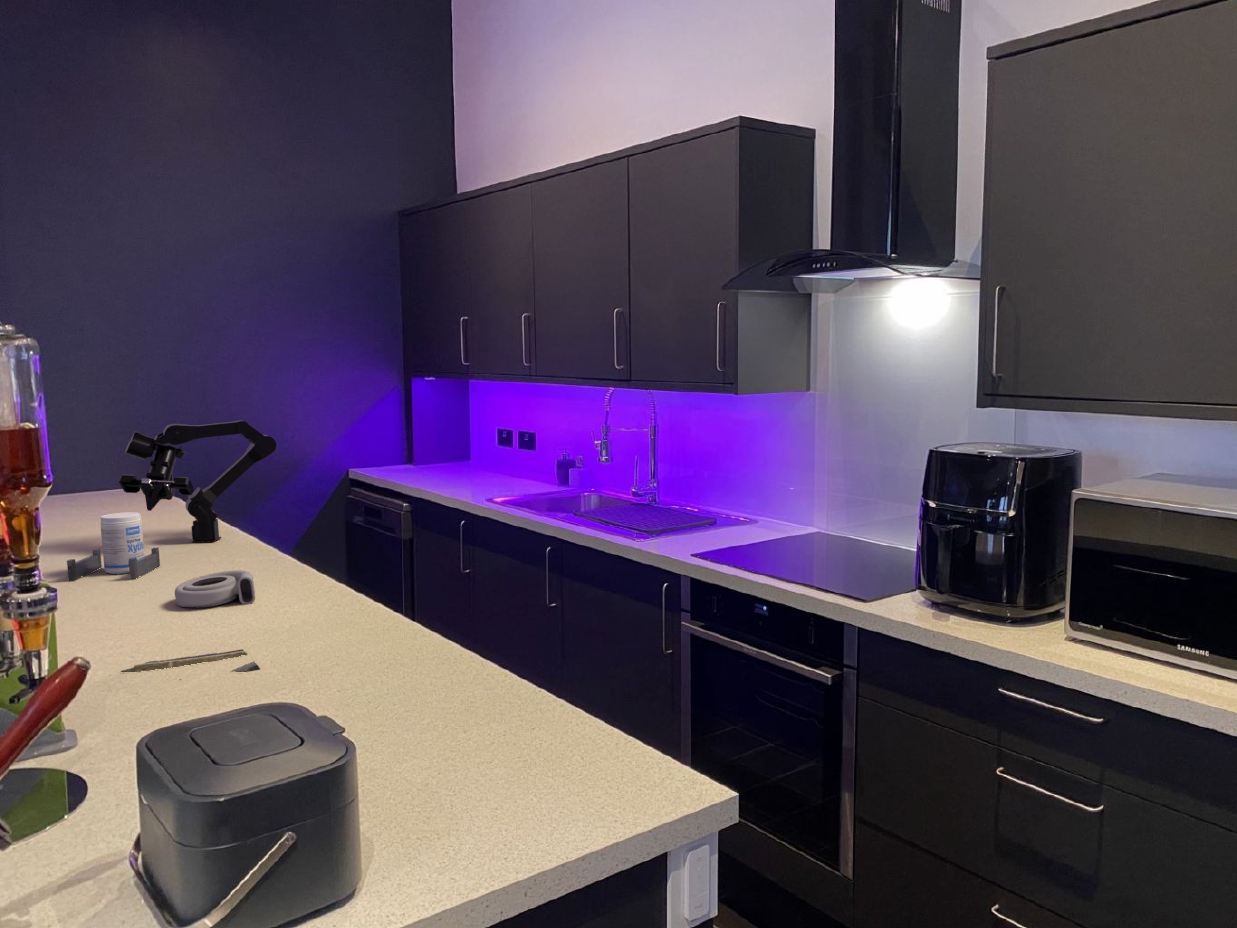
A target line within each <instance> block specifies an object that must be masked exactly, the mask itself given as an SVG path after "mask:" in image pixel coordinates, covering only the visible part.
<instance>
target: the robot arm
mask: <svg viewBox="0 0 1237 928" xmlns="http://www.w3.org/2000/svg"><path fill="white" fill-rule="evenodd" d="M229 435H232V436H233V435H241V436H242V437H243V438H245V439H246V440H247V441H249V442H251V443H250V444H249V446H248V447H247V449H246V450H245V452H244V454H243V455H241V456H240V457H239V458H238V459H237V460H236V461H235V462H234V463H232V465H230V466H229V467H228V468H227V469H226V470H225V471H224V472H223V473H222V474H220V475H219V477H217V478H216V479H215V480H214V481H213V482H211V484H209V485H208V486H207V487H205V488H203V489H201V487H199V486H198V487H197V488H195V490H194V486H193V485H194V484H193V483H192V481H191V479H190V478H189V476H175V477H174V471H173V470H174V467H175V463H176V460H177V459H179V460H182V459H183V458H184V457H185V455H186V451H185V450H184V449H183V448H182V446H179V445H181V444H185V443H188V442H191V441H194V440H198V439H204V438H211V437H212V438H213V437H221V436H229ZM165 444H166V445H165ZM169 444H171V445H169ZM172 445H173V446H172ZM175 445H176V446H178V447H176V446H175ZM276 450H277V441H276V440H275V438H274V437H273V436H270V435H267V434H262V433H261V432H259V431H258V430H257V429H256V428H254V427H253V426H252V425H250V424H249V422H247V421H245V420H244V419H241V420H240V419H239V420H235V421H227V422H218V423H217V422H215V423H209V424H198V425H196V424H186V423H185V424H183V423H182V424H181V423H170V424H168V425H166V426H165V427H164V429H163V431H162V432H161V433H159V434H157V435H155V436H153V437H151V436H148V435H144V434H142V433H140V432H138V431H134V432H133V434H132V436H131V439H130V440H129V441H128V444H127V446H126V449H125V451H124V454H125V455H129V456H131V457H135V458H138V459H141V460H143V461H144V460H147V459H151V458H152V457H153V459H152V460H150V462H149V466H150V469H149V472H146V474H145V477H146V478H141V479H139V477H138V476H137V474H125V473H124V474H121V475H120V476H119V478H118V479H119V480H118V483H119V485H120V487H121V489H122V490H123V492H125V493H126V494H128V493H129V494H137V493H140V491H141V492H142V493H143V495H144V497H145V505H146V509H147V512H150V511H152V510H153V509H154V508H155V507H156V506H157V504H158V503H160V501H161V500H167V501H170V500H172V499H173V497H174V495H175V493H176V489H178V493H179V494H180V496H187V500H185V509H186V511H187V512H188V514H189V515H190V516H192V517H194V519H195V520H193V521H192V526H191V538H192V540H191V543H193V544H196V543H200V544H201V543H215V542H216V540H217V541H218V539H219V538H221V539H222V536H220V533H219V532H220V530H219V519H218V514H217V513H216V512H215V511H214V510H213V509H212V508H213V507H214V504H215V503H216V502H217V500H218V498H219V497H220V496H221V495H222V494H223V493H224V492H225V491H226V490H227V489H229V488H230V487H231V486H232V485H233V484H234V483H235V482H236V481H237V480H238V479H239V478H240V477H241V476H243V474H244V473H246V472H247V471H248V470H249V469H250V468H251V467H252V466H253V465H255V464H256V463H258V462H261V461H262V460H264V459H266V458H268V457H269V456H270V455H272V454H273V453H274V452H275V451H276ZM154 452H155V453H154ZM219 540H220V539H219ZM214 541H215V542H214Z"/></svg>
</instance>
